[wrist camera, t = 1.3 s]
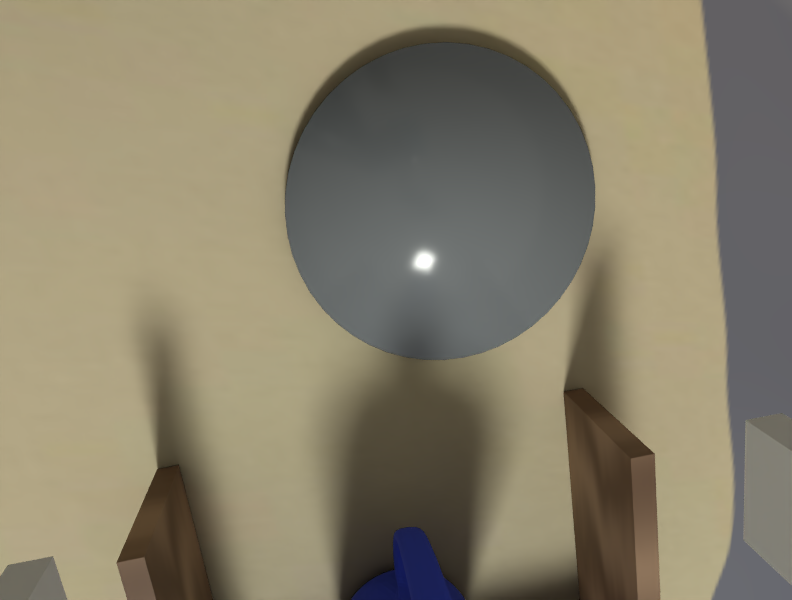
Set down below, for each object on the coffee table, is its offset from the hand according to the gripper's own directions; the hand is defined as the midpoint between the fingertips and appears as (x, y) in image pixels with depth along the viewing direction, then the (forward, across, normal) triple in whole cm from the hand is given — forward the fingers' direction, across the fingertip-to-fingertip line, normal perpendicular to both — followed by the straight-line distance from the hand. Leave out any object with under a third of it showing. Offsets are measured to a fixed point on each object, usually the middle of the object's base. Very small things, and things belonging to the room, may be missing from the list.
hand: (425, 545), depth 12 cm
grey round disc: (+19, +5, +3) cm, 19 cm away
